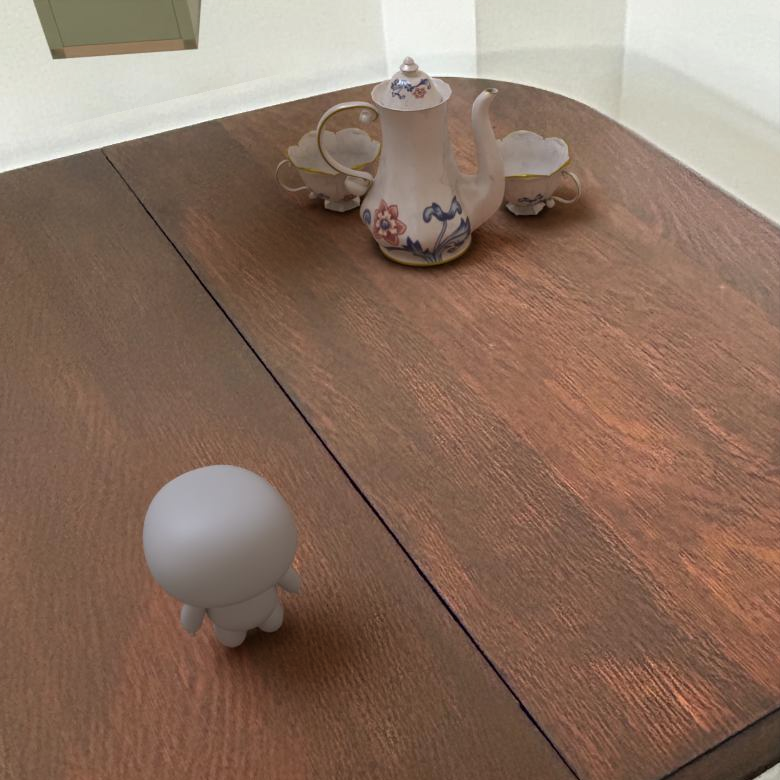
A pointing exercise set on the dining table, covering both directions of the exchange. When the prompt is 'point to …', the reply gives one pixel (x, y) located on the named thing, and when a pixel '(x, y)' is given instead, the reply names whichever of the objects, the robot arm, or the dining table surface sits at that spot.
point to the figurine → (222, 549)
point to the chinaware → (425, 169)
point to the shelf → (118, 26)
